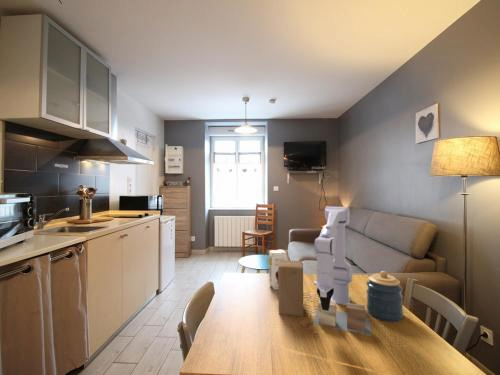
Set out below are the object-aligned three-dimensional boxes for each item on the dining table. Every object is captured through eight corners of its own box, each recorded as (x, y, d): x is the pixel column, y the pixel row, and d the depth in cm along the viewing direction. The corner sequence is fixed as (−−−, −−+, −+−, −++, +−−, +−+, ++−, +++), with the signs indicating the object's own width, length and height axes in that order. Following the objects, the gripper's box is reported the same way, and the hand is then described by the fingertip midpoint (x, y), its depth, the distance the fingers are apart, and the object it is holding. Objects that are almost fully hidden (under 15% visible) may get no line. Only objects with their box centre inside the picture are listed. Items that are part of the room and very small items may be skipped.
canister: (397, 308, 102) (396, 267, 102) (408, 325, 89) (407, 278, 90) (364, 305, 105) (363, 265, 106) (370, 320, 93) (369, 275, 93)
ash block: (319, 318, 94) (319, 298, 94) (335, 321, 91) (335, 300, 91) (318, 324, 90) (318, 302, 90) (335, 327, 88) (335, 305, 88)
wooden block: (303, 317, 95) (303, 267, 95) (278, 315, 97) (278, 266, 97) (303, 306, 105) (302, 260, 105) (280, 304, 107) (279, 259, 107)
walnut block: (347, 324, 90) (346, 302, 90) (364, 327, 87) (364, 305, 88) (347, 329, 86) (346, 307, 86) (365, 333, 84) (365, 310, 84)
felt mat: (317, 308, 103) (317, 307, 103) (369, 317, 95) (369, 316, 95) (312, 325, 90) (312, 324, 90) (372, 337, 82) (372, 336, 82)
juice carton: (267, 285, 128) (267, 249, 129) (282, 283, 131) (282, 248, 131) (273, 290, 121) (273, 253, 121) (288, 288, 124) (288, 252, 124)
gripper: (316, 264, 94) (316, 299, 93) (310, 276, 80) (311, 317, 80) (335, 266, 91) (335, 302, 91) (332, 279, 78) (333, 321, 77)
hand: (325, 309), depth 85 cm, fingers closed
